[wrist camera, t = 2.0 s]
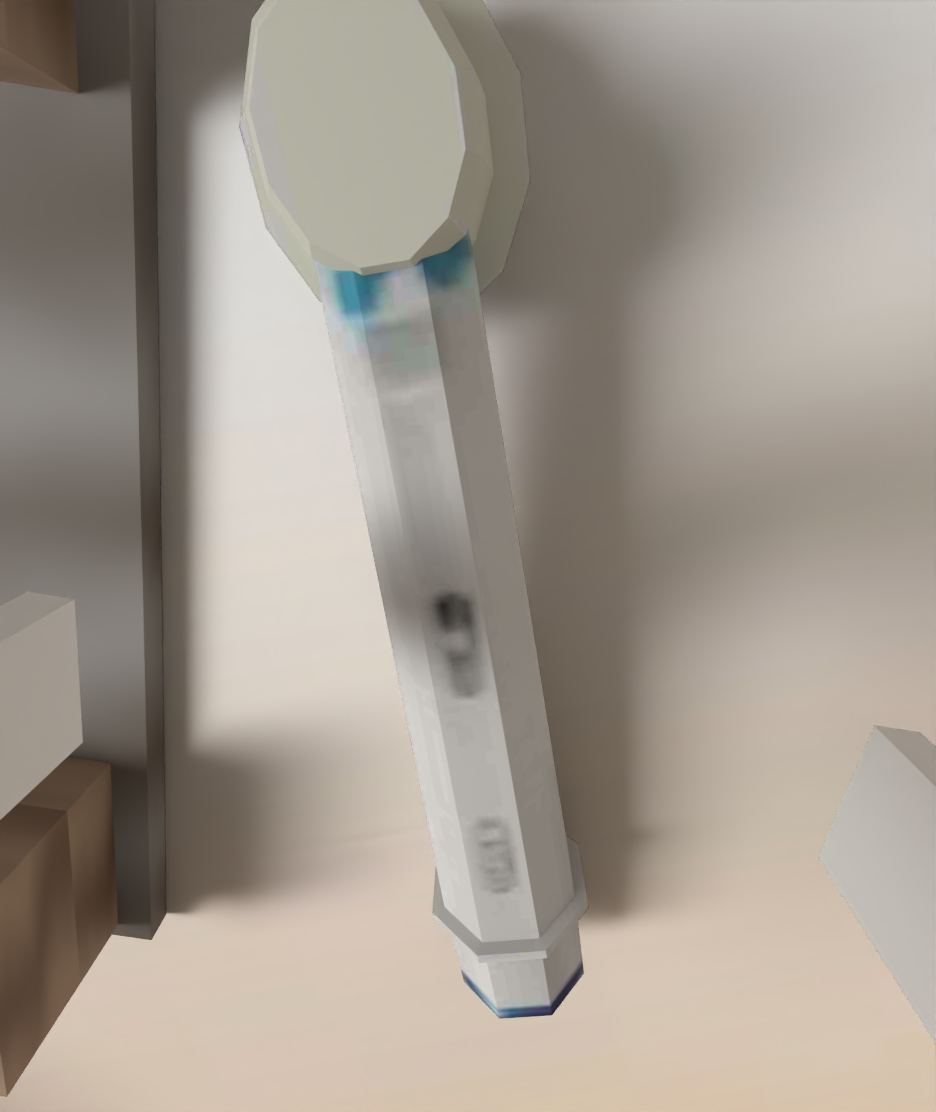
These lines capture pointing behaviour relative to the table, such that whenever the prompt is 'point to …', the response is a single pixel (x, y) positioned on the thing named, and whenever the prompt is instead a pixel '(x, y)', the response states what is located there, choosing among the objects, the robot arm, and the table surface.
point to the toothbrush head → (430, 429)
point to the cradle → (81, 485)
